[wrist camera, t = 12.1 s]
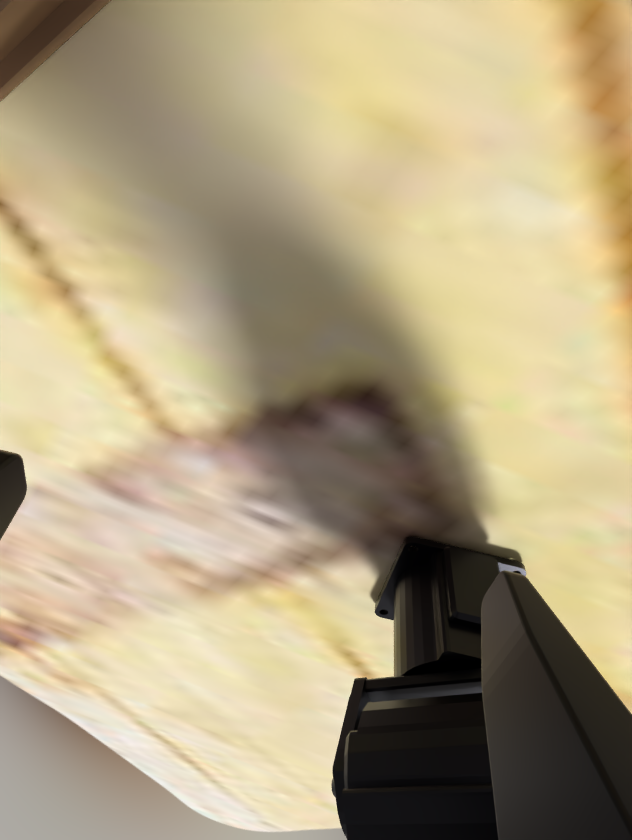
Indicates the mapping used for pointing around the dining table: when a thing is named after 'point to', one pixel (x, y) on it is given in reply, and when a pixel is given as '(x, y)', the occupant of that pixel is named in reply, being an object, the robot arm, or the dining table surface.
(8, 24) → the cradle
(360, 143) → the dining table surface
